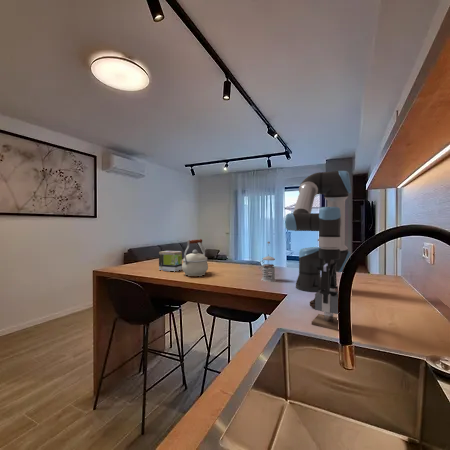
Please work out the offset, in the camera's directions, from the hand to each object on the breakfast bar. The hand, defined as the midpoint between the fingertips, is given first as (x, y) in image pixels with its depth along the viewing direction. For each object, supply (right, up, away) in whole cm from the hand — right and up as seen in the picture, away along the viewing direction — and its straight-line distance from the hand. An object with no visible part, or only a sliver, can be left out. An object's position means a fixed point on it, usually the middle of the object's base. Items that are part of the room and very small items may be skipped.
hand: (328, 308), depth 99 cm
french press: (-12, -4, +72) cm, 73 cm away
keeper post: (0, -5, 0) cm, 5 cm away
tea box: (-81, -4, +103) cm, 131 cm away
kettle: (-59, -4, +89) cm, 107 cm away
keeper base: (0, -6, 0) cm, 6 cm away
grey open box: (0, 0, 0) cm, 0 cm away
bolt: (+5, -6, +21) cm, 22 cm away
